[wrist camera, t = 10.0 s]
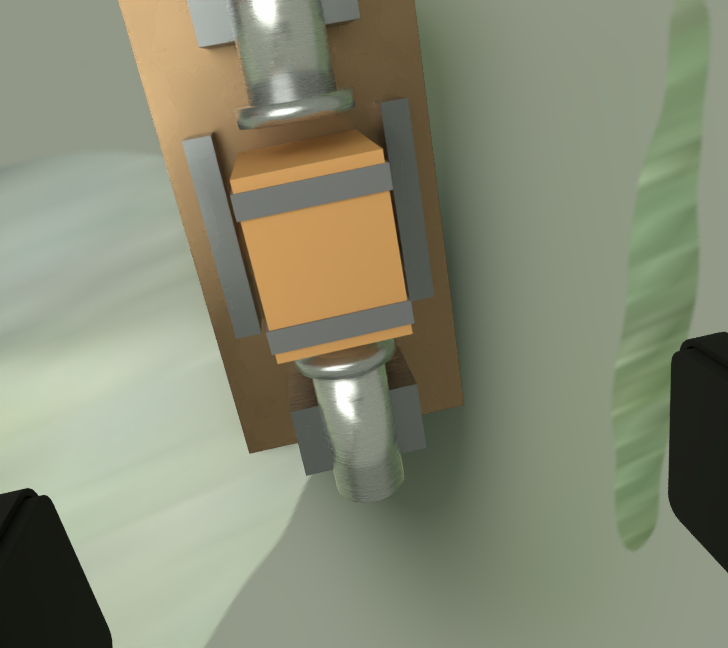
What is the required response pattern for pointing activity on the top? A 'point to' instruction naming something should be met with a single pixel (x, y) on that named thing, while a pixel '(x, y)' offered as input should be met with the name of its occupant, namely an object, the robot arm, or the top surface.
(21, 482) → the top surface
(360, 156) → the block
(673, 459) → the robot arm
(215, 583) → the top surface
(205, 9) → the shaft bench
